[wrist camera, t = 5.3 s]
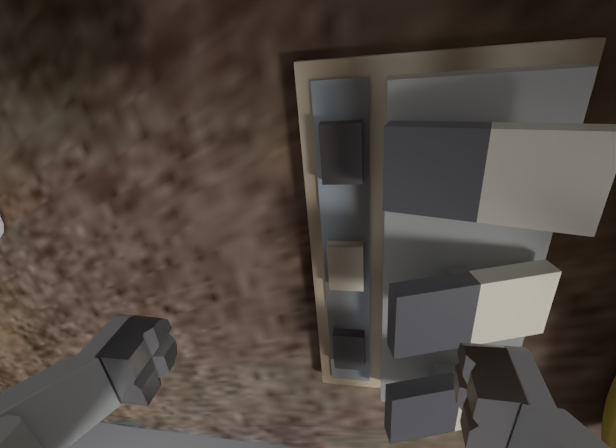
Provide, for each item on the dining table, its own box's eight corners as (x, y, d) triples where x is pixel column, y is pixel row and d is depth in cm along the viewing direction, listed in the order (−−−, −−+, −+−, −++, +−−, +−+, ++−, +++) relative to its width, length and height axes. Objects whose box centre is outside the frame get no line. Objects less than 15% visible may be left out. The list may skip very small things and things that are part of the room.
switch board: (595, 37, 17) (619, 38, 16) (503, 389, 30) (510, 411, 28) (297, 60, 20) (289, 63, 19) (324, 373, 32) (321, 392, 31)
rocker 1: (505, 345, 25) (530, 375, 22) (494, 387, 27) (516, 418, 25) (379, 367, 24) (392, 400, 22) (378, 409, 26) (390, 443, 24)
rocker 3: (529, 247, 21) (562, 271, 19) (515, 305, 23) (543, 333, 21) (380, 269, 20) (396, 297, 18) (379, 327, 22) (394, 359, 20)
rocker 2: (613, 116, 15) (629, 131, 13) (583, 211, 17) (594, 237, 15) (396, 114, 19) (383, 126, 17) (393, 192, 21) (382, 211, 19)
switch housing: (576, 62, 17) (598, 66, 16) (495, 390, 28) (503, 414, 27) (386, 75, 19) (387, 80, 17) (380, 380, 30) (380, 401, 28)
